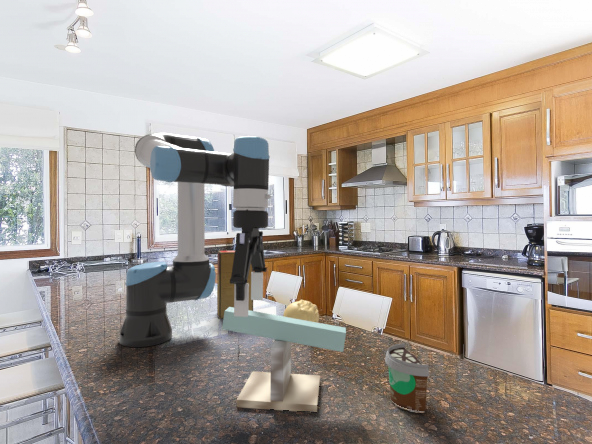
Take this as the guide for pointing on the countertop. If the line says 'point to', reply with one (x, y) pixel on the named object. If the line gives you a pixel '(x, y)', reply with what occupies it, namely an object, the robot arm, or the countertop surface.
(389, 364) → the food container
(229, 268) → the food packaging
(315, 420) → the countertop surface
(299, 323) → the beam
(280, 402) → the balance stand
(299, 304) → the sculpture
